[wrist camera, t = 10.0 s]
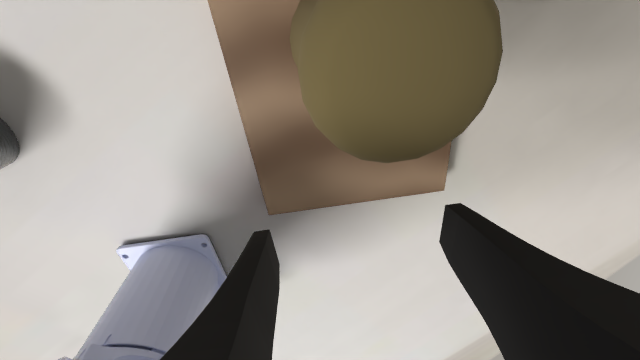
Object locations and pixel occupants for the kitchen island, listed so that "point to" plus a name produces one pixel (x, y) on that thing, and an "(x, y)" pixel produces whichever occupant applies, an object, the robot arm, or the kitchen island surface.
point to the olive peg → (395, 71)
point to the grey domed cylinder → (7, 145)
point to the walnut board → (300, 121)
